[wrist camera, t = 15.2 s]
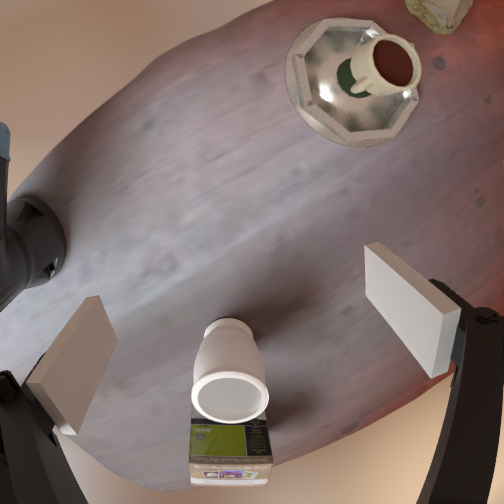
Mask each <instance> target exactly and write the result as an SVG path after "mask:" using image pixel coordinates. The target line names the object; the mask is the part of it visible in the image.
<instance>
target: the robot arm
mask: <svg viewBox="0 0 504 504" xmlns="http://www.w3.org/2000/svg"><path fill="white" fill-rule="evenodd" d="M9 148H10V130H9V128H8V126H6V124H4V123H2V122H0V312H1V311H2V310H3V309H4V308H5V307H6V306H7V305H8V304H9V303H10V302H11V301H12V300H13V299H14V298H15V297H16V296H17V295H18V294H19V293H20V292H22V291H23V290H24V289H28V288H32V287H36V286H40V285H43V284H45V283H47V282H48V281H50V280H51V279H52V278H53V277H54V276H55V275H56V274H57V273H58V272H59V271H60V269H61V267H62V265H63V262H64V258H65V251H66V245H65V237H64V233H63V230H62V227H61V224H60V222H59V220H58V218H57V217H56V215H55V214H54V212H53V211H52V210H51V209H50V208H49V207H48V206H47V205H46V204H45V203H43V202H42V201H40V200H38V199H36V198H32V197H22V198H19V199H16V200H14V201H11V202H10V203H8V204H7V182H8V166H9V162H10V157H9ZM364 249H365V277H366V296H367V297H368V299H369V300H370V301H371V302H372V304H373V305H374V306H375V307H376V309H377V310H378V311H379V312H380V313H381V315H382V316H383V317H384V318H385V320H386V321H387V322H388V323H389V325H390V326H391V327H392V329H393V330H394V331H395V332H396V334H397V335H398V336H399V337H400V339H401V340H402V341H403V343H404V344H405V345H406V346H407V348H408V349H409V350H410V352H411V353H412V354H413V356H414V357H415V358H416V359H417V361H418V362H419V363H420V365H421V366H422V367H423V369H424V370H425V371H426V373H427V374H428V375H429V377H430V378H433V377H436V376H438V375H441V374H443V373H445V372H447V371H448V368H449V364H450V360H452V361H453V362H454V363H455V364H456V368H455V372H454V375H453V379H452V382H451V385H450V387H451V392H450V397H449V402H448V406H447V410H446V414H445V418H444V422H443V426H442V430H441V433H440V437H439V440H438V444H437V447H436V450H435V454H434V457H433V460H432V463H431V466H430V469H429V472H428V474H427V477H426V480H425V483H424V485H423V488H422V490H421V493H420V495H419V498H418V500H417V503H416V504H487V500H488V496H489V492H490V488H491V483H492V479H493V474H494V469H495V462H496V456H497V451H498V444H499V436H500V427H501V417H502V403H503V384H504V316H500V315H499V314H498V313H497V312H496V311H494V310H492V309H490V308H486V307H478V308H474V307H472V306H471V305H470V304H469V303H468V302H466V301H465V300H464V299H463V298H461V297H460V296H459V295H458V294H457V295H456V293H455V292H454V291H453V290H450V288H449V287H448V286H446V285H445V284H444V283H442V282H440V281H437V280H434V279H430V280H427V279H425V278H424V277H423V276H422V275H420V274H419V273H418V272H417V271H415V270H414V269H413V268H412V267H410V266H409V265H408V264H406V263H405V262H404V261H403V260H401V259H400V258H399V257H397V256H396V255H395V254H393V253H392V252H391V251H390V250H388V249H387V248H386V247H384V246H383V245H382V244H380V243H379V242H377V243H372V244H367V245H364ZM117 342H118V339H117V337H116V335H115V333H114V330H113V328H112V326H111V323H110V321H109V319H108V316H107V314H106V311H105V309H104V306H103V304H102V301H101V299H100V296H99V295H98V296H92V297H87V298H86V299H85V300H84V302H83V303H82V304H81V305H80V307H79V308H78V309H77V311H76V312H75V313H74V315H73V316H72V317H71V319H70V320H69V321H68V323H67V324H66V325H65V327H64V328H63V329H62V331H61V332H60V333H59V335H58V336H57V338H56V339H55V340H54V342H53V343H52V345H51V346H50V347H49V349H48V350H47V351H46V352H45V353H44V354H43V355H42V356H41V357H40V359H39V360H38V362H37V364H36V365H35V366H34V367H33V370H31V372H30V373H29V375H28V376H27V378H26V379H25V381H24V382H23V384H22V386H21V387H20V386H19V384H18V383H17V381H16V379H15V378H14V376H13V375H12V373H11V371H8V370H6V371H1V372H0V504H88V502H87V500H86V498H85V496H84V494H83V493H82V491H81V489H80V487H79V485H78V483H77V481H76V479H75V477H74V475H73V473H72V471H71V468H70V466H69V464H68V462H67V460H66V457H65V455H64V453H63V451H62V448H61V446H60V443H59V441H58V439H57V436H56V435H55V434H54V432H53V431H52V429H53V427H54V425H56V426H57V427H58V429H59V430H60V431H61V432H62V434H70V435H78V432H79V429H80V427H81V424H82V422H83V419H84V417H85V414H86V412H87V410H88V407H89V405H90V402H91V400H92V398H93V395H94V393H95V390H96V388H97V386H98V383H99V381H100V379H101V377H102V374H103V372H104V370H105V368H106V365H107V363H108V361H109V359H110V357H111V354H112V352H113V350H114V348H115V346H116V344H117Z"/></svg>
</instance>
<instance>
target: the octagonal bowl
mask: <svg viewBox="0 0 504 504" xmlns="http://www.w3.org/2000/svg"><path fill="white" fill-rule="evenodd" d="M383 34H388V33H386V32H385V31H384V30H383V29H382V28H381V27H379V26H378V25H377V24H376V23H375V22H373V21H371V20H356V19H352V18H343V17H337V18H329V19H324V20H321V21H318V22H316V23H314V24H312V25H310V26H309V27H307V28H306V29H304V30H303V31H302V32H301V33H300V34H299V35H298V36H297V38H296V39H295V40H294V42H293V43H292V45H291V47H290V49H289V52H288V55H287V58H286V64H285V80H286V86H287V90H288V94H289V96H290V99H291V101H292V103H293V105H294V107H295V109H296V110H297V112H298V113H299V115H300V116H301V117H302V119H303V120H304V121H305V122H306V123H307V124H308V125H309V126H310V127H311V128H312V129H313V130H315V131H316V132H317V133H319V134H320V135H322V136H323V137H325V138H327V139H329V140H330V141H333V142H335V143H338V144H341V145H345V146H350V147H370V146H375V145H378V144H381V143H383V142H385V141H387V140H389V139H391V138H392V137H395V136H396V135H397V133H398V132H399V131H400V130H401V129H402V128H403V126H404V125H405V124H406V122H407V120H408V118H409V116H410V114H411V113H412V111H413V110H414V108H415V107H416V105H417V104H418V102H419V98H418V92H417V86H416V87H414V88H413V89H410V90H407V91H403V92H400V93H392V94H390V95H387V96H377V95H374V94H372V95H370V96H368V97H364V98H355V97H351V96H349V95H348V94H347V93H346V92H345V91H343V90H342V88H341V86H340V84H339V83H338V79H337V70H338V67H339V65H340V64H341V63H342V62H343V61H345V60H346V59H349V58H351V57H352V55H353V54H354V53H355V51H356V50H357V49H358V48H359V47H361V46H363V45H364V44H366V43H367V42H369V41H371V40H372V39H374V38H376V37H378V36H381V35H383Z"/></svg>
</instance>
